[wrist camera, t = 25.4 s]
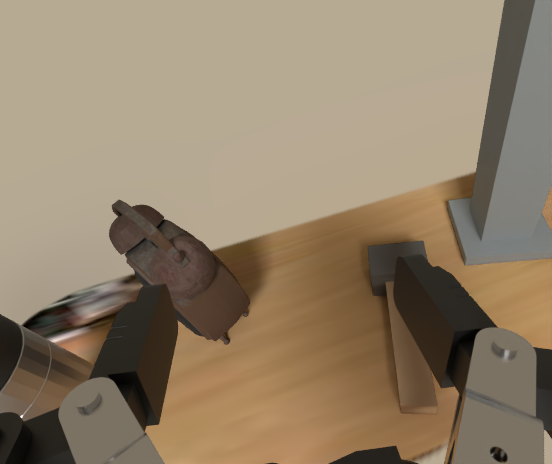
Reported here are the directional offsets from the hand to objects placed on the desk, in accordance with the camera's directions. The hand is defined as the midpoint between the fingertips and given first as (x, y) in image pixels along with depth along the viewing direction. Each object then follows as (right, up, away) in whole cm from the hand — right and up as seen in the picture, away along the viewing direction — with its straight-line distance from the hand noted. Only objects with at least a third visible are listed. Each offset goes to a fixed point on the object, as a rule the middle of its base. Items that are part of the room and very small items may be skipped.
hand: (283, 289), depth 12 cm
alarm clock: (-8, -9, +34) cm, 36 cm away
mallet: (+14, -8, +25) cm, 30 cm away
